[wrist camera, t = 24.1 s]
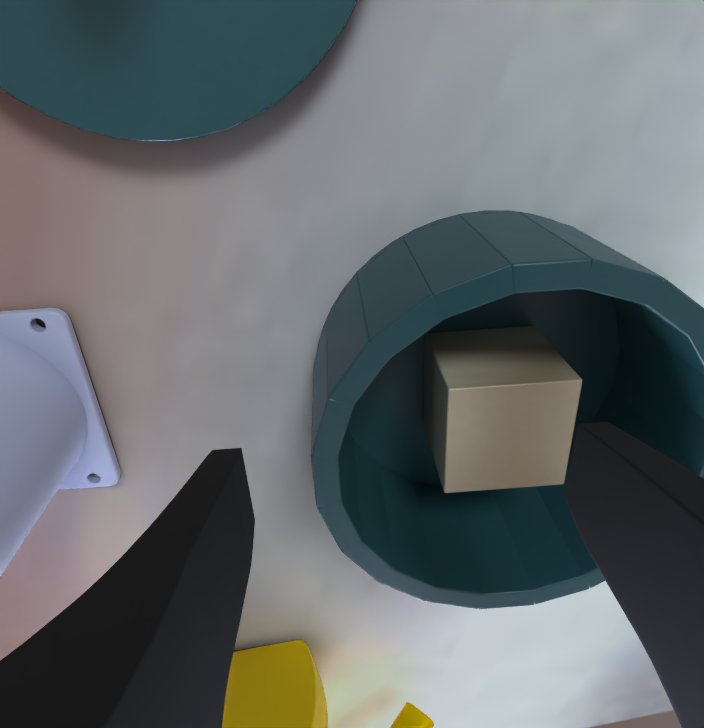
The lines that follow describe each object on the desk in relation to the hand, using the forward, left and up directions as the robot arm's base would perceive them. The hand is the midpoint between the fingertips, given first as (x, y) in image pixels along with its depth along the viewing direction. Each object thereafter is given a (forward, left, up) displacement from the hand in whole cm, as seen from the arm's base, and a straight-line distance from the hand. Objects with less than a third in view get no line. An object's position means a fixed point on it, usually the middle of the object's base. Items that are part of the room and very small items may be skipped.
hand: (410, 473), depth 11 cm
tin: (+4, -3, -9) cm, 11 cm away
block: (+4, -3, -9) cm, 10 cm away
